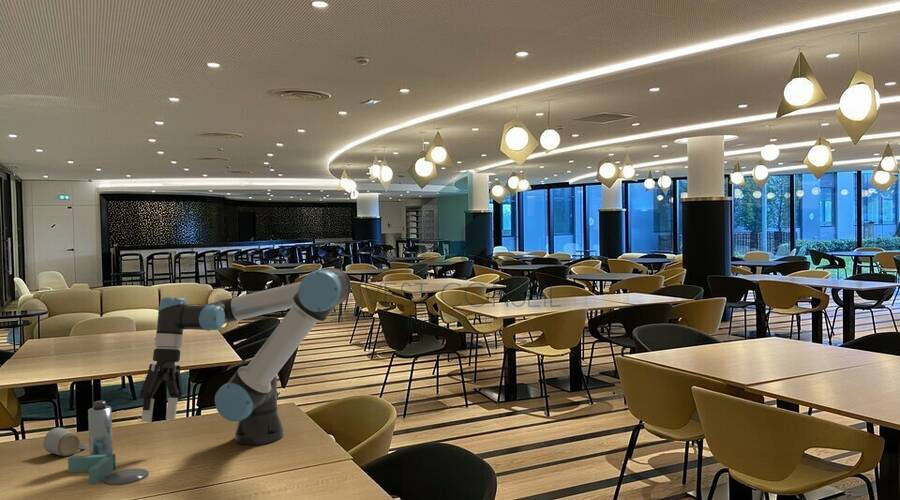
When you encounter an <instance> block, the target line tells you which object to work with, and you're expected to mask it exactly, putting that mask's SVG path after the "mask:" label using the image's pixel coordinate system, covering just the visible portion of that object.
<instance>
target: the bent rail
mask: <svg viewBox="0 0 900 500" xmlns="http://www.w3.org/2000/svg"><path fill="white" fill-rule="evenodd" d="M116 461H117V459H116V453H113V454H105V455H90V454H89V455H87V454H86V455H70V456H69V457H68V458H67V464H68V467H67V468H68V469H67V470H68V473H86V472H88V477H89V478H88V480H89V482H88V483H89V484H88V485H98V484H99V483H100V482H101V481H102V480H104V478H105V477H106V476H107V475H109V474H111V473H113V471H115V470H116V468H117V462H116Z"/></svg>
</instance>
